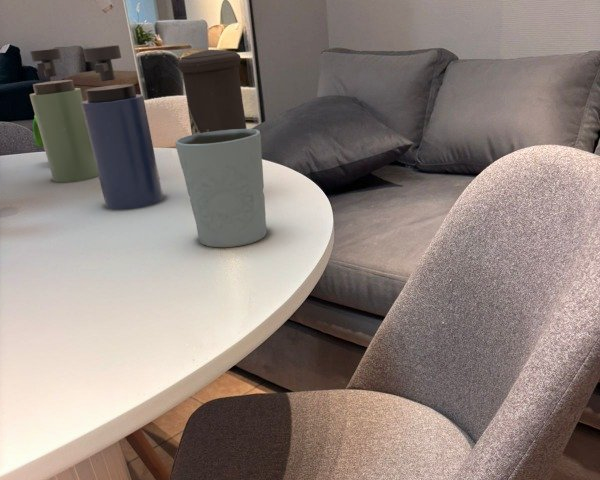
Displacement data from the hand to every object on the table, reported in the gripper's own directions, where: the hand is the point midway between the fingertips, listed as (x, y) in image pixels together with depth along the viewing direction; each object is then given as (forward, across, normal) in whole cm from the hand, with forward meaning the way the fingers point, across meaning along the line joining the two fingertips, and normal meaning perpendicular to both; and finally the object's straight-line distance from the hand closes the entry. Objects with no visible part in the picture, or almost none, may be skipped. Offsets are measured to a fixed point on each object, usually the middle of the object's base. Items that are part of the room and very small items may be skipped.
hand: (108, 9), depth 99 cm
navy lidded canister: (+25, +9, -14) cm, 30 cm away
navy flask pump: (+10, +14, -6) cm, 18 cm away
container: (+32, +12, -1) cm, 35 cm away
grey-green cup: (+36, +34, -2) cm, 49 cm away
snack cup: (+10, -34, -26) cm, 44 cm away
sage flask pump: (-1, -13, -16) cm, 21 cm away
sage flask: (+14, -18, -24) cm, 33 cm away
